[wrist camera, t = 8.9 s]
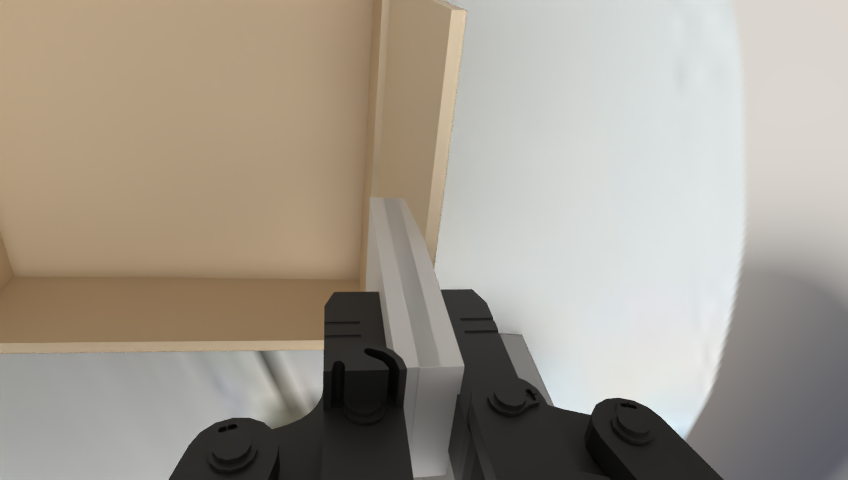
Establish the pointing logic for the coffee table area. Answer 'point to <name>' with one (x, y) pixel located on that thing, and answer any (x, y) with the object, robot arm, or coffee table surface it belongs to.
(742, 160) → the coffee table surface
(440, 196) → the flap
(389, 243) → the robot arm
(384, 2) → the carton
